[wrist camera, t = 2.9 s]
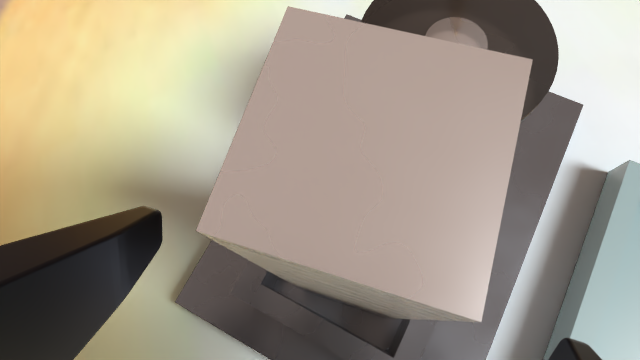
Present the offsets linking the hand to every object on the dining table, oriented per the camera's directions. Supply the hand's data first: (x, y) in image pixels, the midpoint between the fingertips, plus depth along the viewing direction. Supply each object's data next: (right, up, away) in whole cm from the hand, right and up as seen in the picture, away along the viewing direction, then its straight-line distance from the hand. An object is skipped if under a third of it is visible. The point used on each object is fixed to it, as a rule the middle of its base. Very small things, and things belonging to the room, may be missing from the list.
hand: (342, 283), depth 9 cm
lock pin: (+1, -1, +8) cm, 8 cm away
